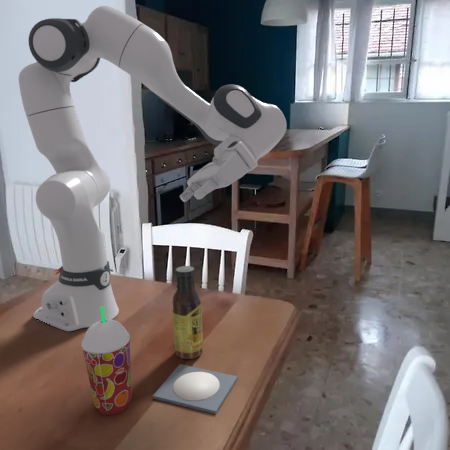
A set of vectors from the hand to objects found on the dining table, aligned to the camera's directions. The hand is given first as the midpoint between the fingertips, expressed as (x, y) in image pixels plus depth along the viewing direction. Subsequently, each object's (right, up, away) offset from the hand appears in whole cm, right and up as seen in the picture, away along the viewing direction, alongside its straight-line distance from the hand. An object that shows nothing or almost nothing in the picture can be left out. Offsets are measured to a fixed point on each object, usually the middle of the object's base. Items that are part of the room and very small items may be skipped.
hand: (189, 198), depth 96 cm
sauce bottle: (0, -35, +2) cm, 35 cm away
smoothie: (-13, -40, -14) cm, 44 cm away
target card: (+2, -38, -10) cm, 39 cm away
